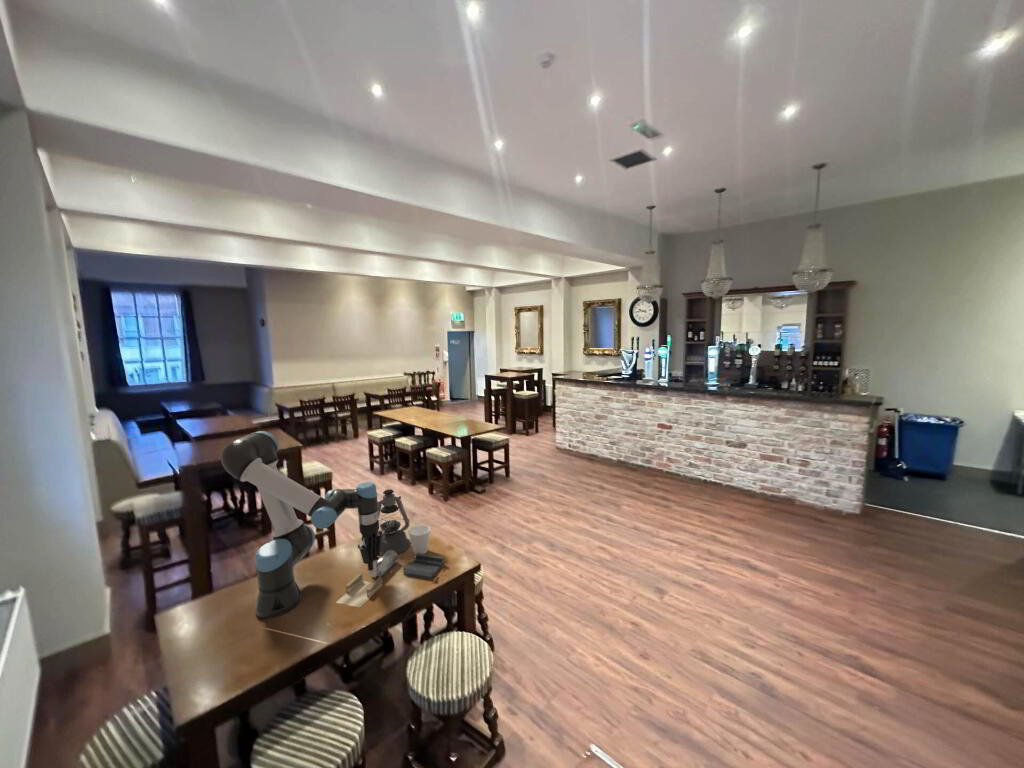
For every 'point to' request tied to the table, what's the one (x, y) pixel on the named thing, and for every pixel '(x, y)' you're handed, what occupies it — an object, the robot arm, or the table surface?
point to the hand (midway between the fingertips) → (373, 575)
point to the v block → (424, 566)
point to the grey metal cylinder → (386, 562)
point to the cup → (419, 538)
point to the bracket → (359, 591)
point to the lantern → (393, 525)
